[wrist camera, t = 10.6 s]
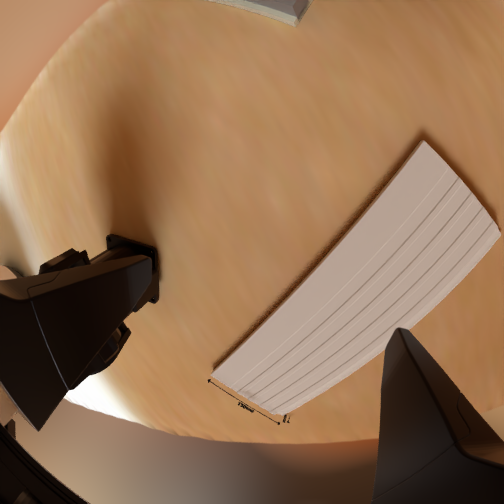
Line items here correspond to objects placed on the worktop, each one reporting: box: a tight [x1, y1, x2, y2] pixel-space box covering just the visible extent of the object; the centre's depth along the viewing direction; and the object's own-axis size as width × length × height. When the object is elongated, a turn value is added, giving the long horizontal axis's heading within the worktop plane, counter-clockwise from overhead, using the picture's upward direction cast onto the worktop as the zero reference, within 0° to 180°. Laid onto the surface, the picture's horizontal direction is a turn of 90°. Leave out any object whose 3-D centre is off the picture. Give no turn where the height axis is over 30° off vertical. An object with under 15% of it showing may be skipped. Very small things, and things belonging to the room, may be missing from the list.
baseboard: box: [208, 140, 502, 425], centre depth 23 cm, size 31×3×12 cm
